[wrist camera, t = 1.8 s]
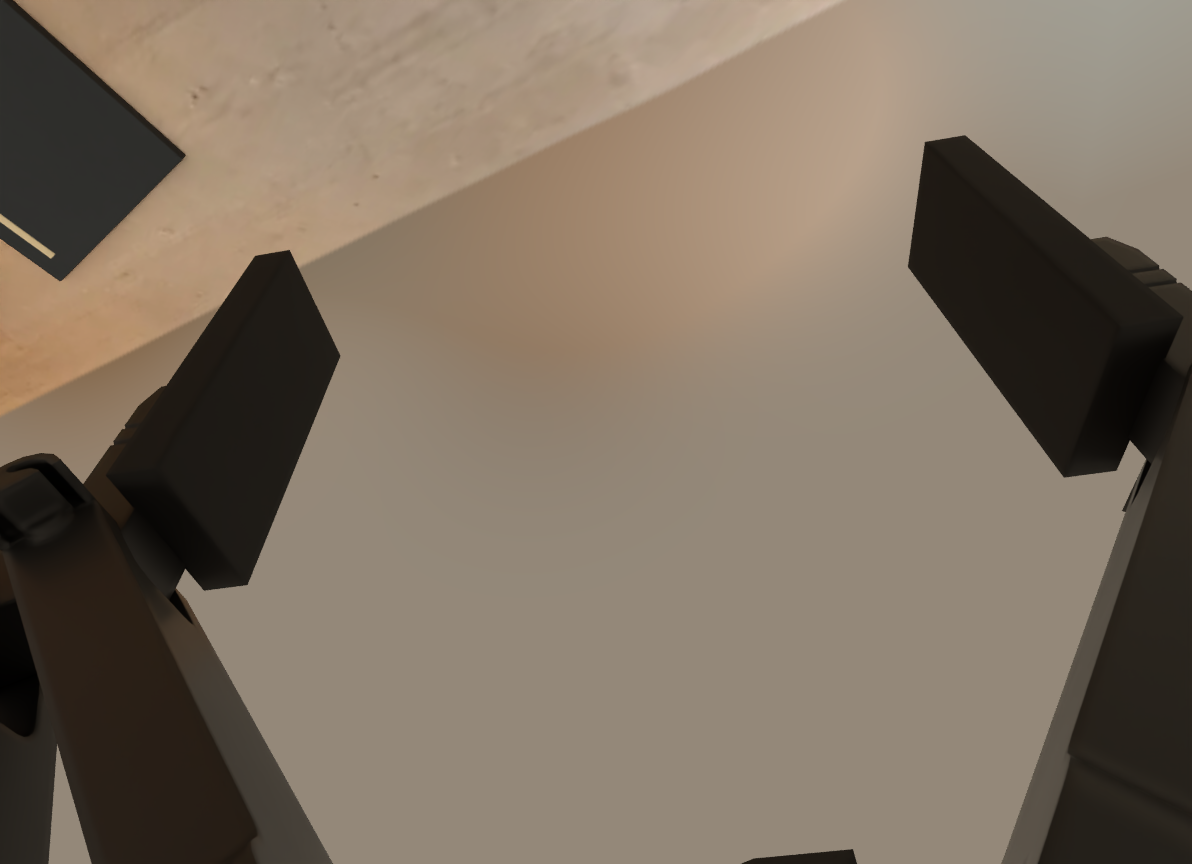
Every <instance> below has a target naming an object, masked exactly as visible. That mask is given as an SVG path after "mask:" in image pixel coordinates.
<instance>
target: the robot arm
mask: <svg viewBox="0 0 1192 864" xmlns="http://www.w3.org/2000/svg"><path fill="white" fill-rule="evenodd" d="M908 268H909V269H910V270H911V272H912V273H913V274H914V276H915V277H916V278H917V280H918V281H919V282H920V284H921V285H922V286H923V288H924V289H925V290H926V292H927V293H928V295H929V296H930V297H931V299H932V300H933V301H934V303H935V304H936V305H937V307H938V308H939V309H940V311H941V312H942V313H943V315H944V316H945V318H946V319H947V320H948V321H949V323H950V324H951V326H952V327H953V328H954V329H955V331H956V332H957V334H958V335H959V336H960V338H961V339H962V340H963V341H964V343H965V345H966V346H967V347H968V349H969V350H970V351H971V353H972V354H973V355H974V357H975V358H976V359H977V361H978V362H979V363H980V365H981V366H982V367H983V369H984V370H985V371H986V373H987V374H988V376H989V377H990V378H991V380H992V381H993V382H994V384H995V385H996V386H997V388H998V389H999V390H1000V392H1001V393H1002V394H1003V396H1004V397H1005V399H1006V400H1007V401H1008V403H1009V404H1010V405H1011V407H1012V408H1013V409H1014V411H1015V412H1016V413H1017V415H1018V416H1019V417H1020V418H1021V420H1022V421H1023V423H1024V424H1025V426H1026V427H1027V428H1028V430H1029V431H1030V432H1031V434H1032V435H1033V436H1034V438H1035V439H1036V440H1037V442H1038V443H1039V444H1040V446H1041V447H1042V448H1043V450H1044V451H1045V453H1046V454H1047V455H1048V457H1049V458H1050V459H1051V461H1052V462H1053V463H1054V465H1055V466H1056V467H1057V469H1058V470H1059V471H1060V473H1061V474H1062V475H1063V477H1072V476H1079V475H1087V474H1095V473H1102V472H1110V471H1116V470H1117V468H1118V466H1119V464H1120V461H1121V459H1122V457H1123V455H1124V452H1125V450H1126V448H1127V445H1128V443H1129V441H1131V442H1132V443H1133V444H1134V445H1135V446H1136V447H1137V449H1138V450H1139V451H1140V452H1141V453H1142V454H1143V455H1144V456H1145V458H1146V461H1145V463H1144V465H1143V467H1142V469H1141V472H1140V474H1139V476H1138V478H1137V480H1136V482H1135V484H1134V487H1133V489H1132V491H1131V493H1130V495H1129V497H1128V499H1127V501H1126V504H1125V506H1124V508H1123V510H1122V511H1124V512H1126V513H1125V516H1124V518H1123V521H1122V524H1121V527H1120V530H1119V533H1118V535H1117V539H1116V541H1115V544H1114V547H1113V550H1112V553H1111V555H1110V558H1109V561H1108V564H1107V567H1106V569H1105V572H1104V575H1103V578H1102V581H1101V584H1100V587H1099V589H1098V592H1097V595H1096V598H1095V601H1094V603H1093V606H1092V609H1091V612H1090V615H1089V618H1088V621H1087V623H1086V626H1085V629H1084V632H1083V635H1082V637H1081V640H1080V643H1079V646H1078V649H1077V652H1076V654H1075V657H1074V660H1073V663H1072V666H1071V669H1070V671H1069V674H1068V677H1067V680H1066V683H1065V686H1064V689H1063V691H1062V694H1061V697H1060V700H1059V703H1058V705H1057V708H1056V711H1055V714H1054V717H1053V720H1052V722H1051V725H1050V728H1049V731H1048V734H1047V737H1046V740H1045V742H1044V745H1043V748H1042V751H1041V754H1040V756H1039V760H1038V763H1037V765H1036V768H1035V771H1034V773H1033V776H1032V780H1031V782H1030V785H1029V788H1028V790H1027V793H1026V796H1025V799H1024V802H1023V805H1022V808H1021V810H1020V813H1019V816H1018V819H1017V822H1016V825H1015V827H1014V830H1013V833H1012V836H1011V839H1010V841H1009V845H1008V847H1007V850H1006V853H1005V856H1004V858H1003V860H1002V863H1001V864H1192V291H1191V290H1190V289H1189V288H1187V287H1186V286H1184V285H1183V284H1182V283H1177V282H1176V278H1174V277H1173V276H1172V275H1171V274H1169V273H1168V272H1167V271H1165V270H1164V269H1159V265H1158V264H1156V263H1155V262H1154V261H1153V260H1151V259H1150V258H1149V257H1147V256H1146V255H1145V254H1143V253H1142V252H1141V251H1140V250H1138V249H1136V248H1134V247H1131V246H1129V245H1126V244H1124V243H1121V242H1118V241H1116V240H1113V239H1111V238H1108V237H1102V238H1096V239H1089V238H1088V237H1087V236H1086V235H1084V234H1083V233H1082V232H1081V231H1080V230H1079V229H1077V228H1076V227H1075V226H1074V225H1072V224H1071V223H1070V222H1069V221H1068V220H1067V219H1065V218H1064V217H1063V216H1062V215H1060V214H1059V213H1058V212H1057V211H1056V210H1054V209H1053V208H1052V207H1051V206H1050V205H1048V204H1047V203H1046V202H1045V201H1044V200H1042V199H1041V198H1040V197H1039V196H1038V195H1036V194H1035V193H1034V192H1033V191H1031V190H1030V189H1029V188H1028V187H1027V186H1025V185H1024V184H1023V183H1022V182H1021V181H1020V180H1018V179H1017V178H1016V177H1015V176H1013V175H1012V174H1011V173H1010V172H1009V171H1007V170H1006V169H1005V168H1004V167H1003V166H1001V165H1000V164H999V163H998V162H997V161H995V160H994V159H993V158H992V157H991V156H989V155H988V154H987V153H986V152H985V151H983V150H982V149H981V148H980V147H979V146H977V145H976V144H975V143H974V142H972V141H971V140H970V139H969V138H968V137H966V136H958V137H952V138H947V139H940V140H935V141H929V142H925V146H924V154H923V161H922V168H921V175H920V183H919V190H918V198H917V205H916V212H915V219H914V227H913V234H912V241H911V249H910V256H909V264H908ZM339 358H340V354H339V352H338V350H337V348H336V346H335V344H334V342H333V339H332V337H331V335H330V333H329V331H328V329H327V327H326V325H325V323H324V321H323V319H322V317H321V314H320V312H319V310H318V308H317V306H316V305H315V302H314V300H313V298H312V296H311V294H310V292H309V290H308V287H307V285H306V283H305V281H304V279H303V277H302V275H301V273H300V271H299V269H298V267H297V265H296V262H295V260H294V258H293V256H292V254H291V252H290V250H287V251H281V252H275V253H269V254H264V255H258V256H255V257H254V258H253V260H252V261H251V263H250V264H249V266H248V267H247V269H246V270H245V272H244V273H243V274H242V276H241V277H240V279H239V280H238V282H237V283H236V285H235V286H234V288H233V289H232V291H231V292H230V293H229V295H228V296H227V298H226V299H225V301H224V302H223V304H222V305H221V307H220V308H219V310H218V311H217V312H216V314H215V315H214V317H213V318H212V320H211V321H210V323H209V324H208V326H207V327H206V329H205V330H204V332H203V333H202V335H201V336H200V337H199V339H198V340H197V342H196V343H195V345H194V346H193V348H192V349H191V351H190V352H189V353H188V355H187V356H186V358H185V359H184V361H183V362H182V364H181V365H180V367H179V368H178V370H177V371H176V373H175V374H174V375H173V377H172V379H171V380H170V381H169V383H168V384H167V386H164V387H161V388H159V389H158V390H157V391H156V392H155V393H153V394H152V395H151V396H150V397H149V398H147V399H146V400H145V401H144V402H143V403H142V404H141V405H139V406H138V407H137V409H136V410H135V412H134V413H133V415H132V416H131V417H130V419H129V420H128V422H127V423H126V424H125V429H122V430H121V432H120V433H119V434H118V436H117V437H116V439H115V440H114V445H112V446H110V447H109V449H108V450H107V451H106V453H105V454H104V456H103V457H102V458H101V460H100V461H99V463H98V464H97V465H96V467H95V468H94V470H93V471H92V473H91V474H90V475H89V477H88V478H87V480H86V481H85V483H84V484H82V483H81V482H80V481H79V479H78V478H77V477H76V476H75V475H74V474H73V473H72V472H71V471H70V469H69V468H68V467H67V466H66V465H65V464H64V463H63V462H62V461H61V459H59V458H58V457H57V456H55V455H54V454H44V453H39V454H35V455H30V456H26V457H22V458H20V459H17V460H15V461H13V462H10V463H8V464H6V465H4V466H2V467H0V864H48V861H49V847H50V834H51V820H52V806H53V792H54V778H55V763H56V751H57V744H58V748H59V751H60V754H61V758H62V761H63V765H64V769H65V772H66V776H67V779H68V783H69V786H70V790H71V793H72V796H73V800H74V803H75V807H76V810H77V814H78V817H79V821H80V824H81V828H82V831H83V835H84V838H85V842H86V845H87V849H88V852H89V856H90V859H91V862H92V864H333V863H332V861H331V859H330V858H329V856H328V854H327V852H326V850H325V849H324V847H323V845H322V843H321V841H320V840H319V838H318V836H317V834H316V832H315V831H314V829H313V827H312V825H311V823H310V822H309V820H308V818H307V816H306V814H305V813H304V811H303V809H302V807H301V805H300V804H299V802H298V800H297V798H296V796H295V795H294V793H293V791H292V789H291V787H290V786H289V784H288V782H287V780H286V778H285V776H284V775H283V773H282V771H281V769H280V767H279V766H278V764H277V762H276V760H275V758H274V757H273V755H272V753H271V751H270V750H269V748H268V746H267V744H266V742H265V741H264V739H263V737H262V735H261V733H260V731H259V730H258V728H257V726H256V724H255V722H254V721H253V719H252V717H251V715H250V713H249V712H248V710H247V708H246V706H245V705H244V703H243V701H242V699H241V697H240V695H239V694H238V692H237V690H236V688H235V687H234V685H233V683H232V681H231V679H230V677H229V675H228V674H227V672H226V670H225V668H224V667H223V665H222V663H221V661H220V660H219V658H218V656H217V654H216V652H215V650H214V648H213V647H212V645H211V643H210V641H209V640H208V638H207V636H206V634H205V632H204V630H203V629H202V627H201V625H200V623H199V622H198V620H197V618H196V616H195V614H194V612H193V611H192V609H191V607H190V605H189V603H188V602H187V600H186V599H185V598H184V597H183V596H182V595H181V594H180V592H179V591H178V590H177V589H176V586H177V584H178V582H179V580H180V578H181V576H182V574H183V572H184V570H185V569H186V570H187V571H188V572H189V573H190V575H191V576H192V577H193V578H194V579H195V580H196V582H197V583H198V584H199V585H200V586H201V587H202V589H203V590H212V589H220V588H226V587H227V588H228V587H235V586H243V585H248V582H249V580H250V577H251V575H252V572H253V570H254V567H255V565H256V563H257V560H258V558H259V555H260V553H261V550H262V548H263V545H264V543H265V540H266V538H267V535H268V533H269V530H270V528H271V526H272V523H273V521H274V518H275V515H276V513H277V511H278V508H279V506H280V503H281V501H282V498H283V496H284V493H285V491H286V488H287V486H288V484H289V481H290V479H291V476H292V474H293V471H294V469H295V466H296V464H297V461H298V459H299V456H300V454H301V452H302V449H303V447H304V444H305V442H306V439H307V437H308V434H309V432H310V429H311V427H312V424H313V422H314V420H315V417H316V415H317V412H318V410H319V407H320V405H321V402H322V400H323V397H324V395H325V392H326V390H327V387H328V385H329V382H330V380H331V377H332V375H333V372H334V370H335V368H336V365H337V363H338V360H339ZM742 864H857V862H856V859H855V855H854V851H853V849H851V850H840V851H830V852H820V853H808V854H798V855H787V856H777V857H766V858H755V859H752V860H749V861H747V862H744V863H742Z"/></svg>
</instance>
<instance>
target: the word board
mask: <svg viewBox="0 0 1192 864" xmlns="http://www.w3.org/2000/svg"><path fill="white" fill-rule="evenodd" d="M184 157H185V155H184V154H183V153H182V152H181V151H180V150H179V149H178V148H177V147H175V146H174V145H173V144H172V143H171V142H170V141H169V140H168V139H167V138H165V137H164V136H163V135H162V134H161V133H160V132H159V131H158V130H156V129H155V128H154V127H153V126H152V125H151V124H150V123H149V122H147V121H146V120H145V119H144V118H143V117H142V116H141V115H140V114H139V113H137V112H136V111H135V110H134V109H133V108H132V107H131V106H130V105H128V104H127V103H126V102H125V101H124V100H123V99H122V98H121V97H120V96H118V95H117V94H116V93H115V92H114V91H113V90H112V89H111V88H109V87H108V86H107V85H106V84H105V83H104V82H103V81H102V80H101V79H99V78H98V77H97V76H96V75H95V74H94V73H93V72H92V71H90V70H89V69H88V68H87V67H86V66H85V65H84V64H83V63H82V62H80V61H79V60H78V59H77V58H76V57H75V56H74V55H73V54H71V53H70V52H69V51H68V50H67V49H66V48H65V47H64V46H63V45H61V44H60V43H59V42H58V41H57V40H56V39H55V38H54V37H52V36H51V35H50V34H49V33H48V32H47V31H46V30H45V29H44V28H42V27H41V26H40V25H39V24H38V23H37V22H36V21H35V20H33V19H32V18H31V17H30V16H29V15H28V14H27V13H26V12H25V11H23V10H22V9H21V8H20V7H19V6H18V5H17V4H16V3H14V2H13V1H12V0H0V239H1V240H3V241H4V242H6V243H7V244H8V245H10V246H11V247H13V248H14V249H15V250H17V251H18V252H20V253H21V254H23V255H24V256H25V257H27V258H28V259H30V260H31V261H32V262H34V263H35V264H37V265H38V266H39V267H41V268H42V269H44V270H45V271H46V272H48V273H49V274H51V275H52V276H53V277H55V278H56V279H58V280H59V281H62V280H63V279H64V278H65V277H66V276H67V275H68V274H69V273H70V272H71V271H72V270H73V269H74V268H75V267H76V266H77V265H78V264H79V263H80V262H81V261H82V260H83V259H84V258H85V257H86V256H87V255H88V254H89V253H90V252H91V251H92V250H93V249H94V248H95V247H96V246H97V245H98V244H99V243H100V242H101V241H102V240H103V239H104V238H105V237H106V236H107V235H108V234H109V233H110V232H111V231H112V230H113V229H114V228H115V227H116V226H117V225H118V224H119V223H120V222H121V221H122V220H123V219H124V218H125V217H126V216H127V215H128V214H129V213H130V212H131V211H132V210H133V209H134V208H135V207H136V206H137V205H138V204H139V203H140V202H141V201H142V200H143V199H144V198H145V197H146V196H147V194H148V193H149V192H150V191H151V190H152V189H153V188H154V187H155V186H156V185H157V184H158V183H159V182H160V181H161V180H162V179H163V178H164V177H165V176H166V175H167V174H168V173H169V172H170V171H171V170H172V169H173V168H174V167H175V166H176V165H177V164H178V163H179V162H180V161H181V160H182V159H183V158H184Z"/></svg>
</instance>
